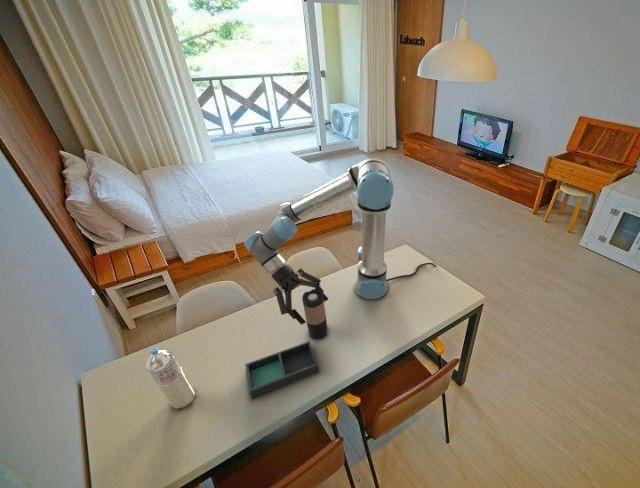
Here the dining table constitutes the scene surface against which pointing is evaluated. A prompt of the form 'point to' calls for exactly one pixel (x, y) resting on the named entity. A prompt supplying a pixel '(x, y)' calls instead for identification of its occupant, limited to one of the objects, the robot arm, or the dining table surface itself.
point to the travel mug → (315, 313)
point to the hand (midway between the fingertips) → (315, 311)
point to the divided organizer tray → (281, 369)
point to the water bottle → (170, 378)
